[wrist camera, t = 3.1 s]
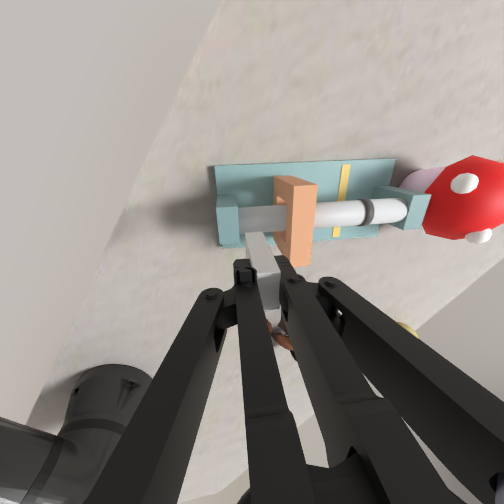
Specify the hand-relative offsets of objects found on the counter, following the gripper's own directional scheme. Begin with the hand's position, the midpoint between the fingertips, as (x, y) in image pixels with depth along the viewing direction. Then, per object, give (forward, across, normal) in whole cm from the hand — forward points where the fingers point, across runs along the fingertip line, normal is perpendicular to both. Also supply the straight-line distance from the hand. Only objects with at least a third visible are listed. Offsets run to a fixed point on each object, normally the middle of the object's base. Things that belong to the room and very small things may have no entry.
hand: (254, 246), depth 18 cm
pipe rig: (+15, +10, 0) cm, 18 cm away
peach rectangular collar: (+13, +6, 0) cm, 14 cm away
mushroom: (+15, +29, +1) cm, 32 cm away
